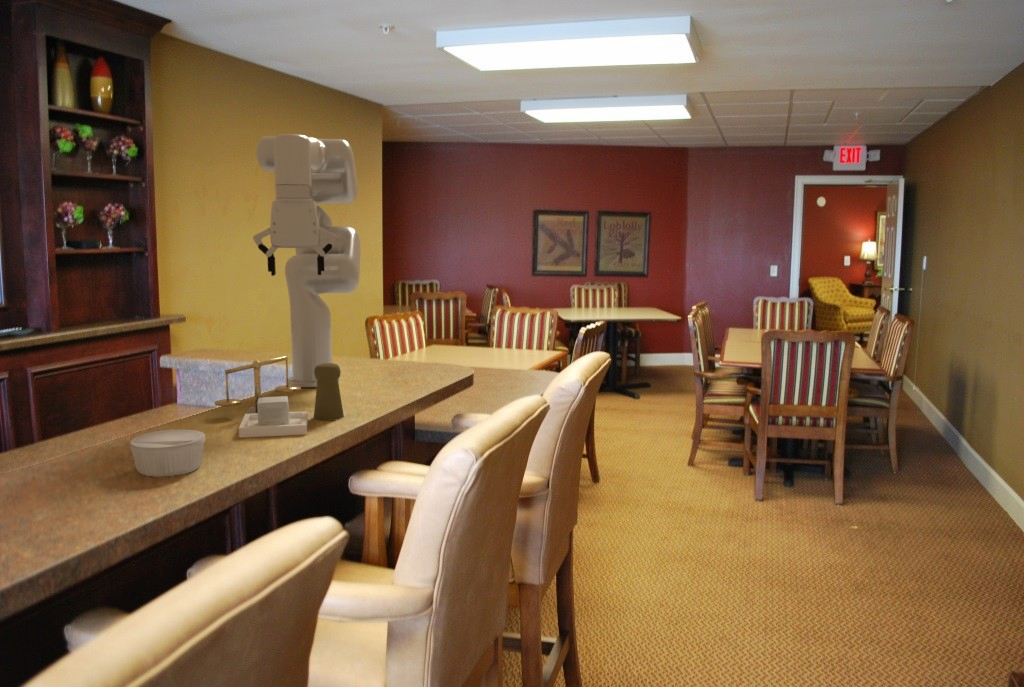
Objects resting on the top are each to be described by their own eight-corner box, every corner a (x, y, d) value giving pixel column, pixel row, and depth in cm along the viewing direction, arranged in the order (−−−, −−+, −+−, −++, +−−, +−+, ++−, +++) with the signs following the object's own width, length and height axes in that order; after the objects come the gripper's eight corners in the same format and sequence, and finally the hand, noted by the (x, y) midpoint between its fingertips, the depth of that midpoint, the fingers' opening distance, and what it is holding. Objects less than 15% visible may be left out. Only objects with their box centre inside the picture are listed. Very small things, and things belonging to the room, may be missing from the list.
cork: (336, 421, 168) (335, 366, 167) (308, 419, 170) (306, 365, 168) (348, 414, 174) (347, 361, 173) (321, 413, 176) (319, 360, 174)
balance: (217, 414, 174) (214, 355, 172) (301, 410, 178) (299, 353, 176) (213, 420, 168) (210, 360, 167) (300, 417, 172) (298, 357, 170)
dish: (245, 422, 167) (245, 413, 167) (308, 420, 169) (307, 411, 169) (239, 437, 155) (238, 428, 155) (306, 434, 158) (306, 425, 157)
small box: (259, 421, 164) (258, 396, 164) (289, 420, 166) (288, 395, 165) (257, 428, 159) (256, 402, 158) (289, 426, 160) (288, 401, 159)
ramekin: (140, 484, 128) (138, 450, 127) (124, 467, 137) (122, 435, 136) (215, 471, 134) (214, 439, 133) (195, 456, 143) (194, 426, 142)
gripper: (335, 194, 185) (337, 273, 188) (252, 194, 181) (256, 274, 184) (335, 194, 178) (337, 275, 180) (249, 193, 174) (253, 276, 177)
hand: (296, 274), depth 182 cm, fingers open, 9 cm apart
